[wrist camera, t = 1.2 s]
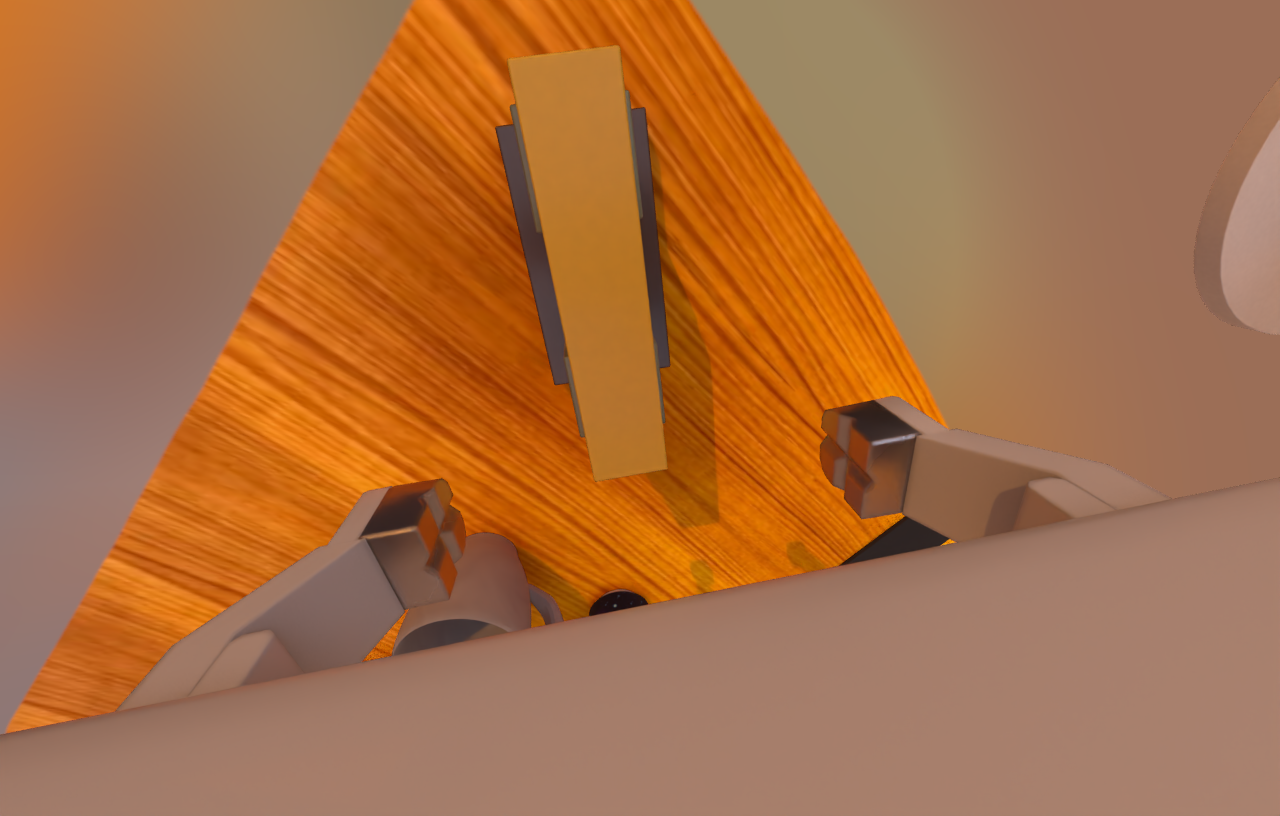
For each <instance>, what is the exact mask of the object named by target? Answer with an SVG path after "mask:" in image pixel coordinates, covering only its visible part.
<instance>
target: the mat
mask: <svg viewBox="0 0 1280 816" xmlns="http://www.w3.org/2000/svg"><path fill="white" fill-rule="evenodd" d="M947 540H949V538H947V537H945V536H943V535H941V534H940V533H938V532H936V531H934V530H932V529H930V528H928V527H926V526H924V525H922V524H920V523H918V522H916V521H914V520H912V519H910V518H908V517H907V516H906V517H904V518H903V519H901V520H900V521H899V522H897V523H896V524H895V525H893V526H892V527H891V528H889V529H888V530H887V531H885V532H884V533H883V534H881V535H880V536H879V537H877V538H876V539H875V540H873V541H872V542H871V543H869V544H868V545H867V546H865V547H864V548H863V549H861V550H860V551H859V552H857V553H856V554H855V555H853V556H852V557H851V558H849V559H848V560H846V561H845V562H844V563H842V564H841V565H840V566H842V565H847V564H852V563H857V562H862V561H867V560H872V559H877V558H882V557H887V556H892V555H897V554H902V553H907V552H912V551H917V550H922V549H927V548H932V547H937V546H940V545H942V544H943V543H944V542H946V541H947Z"/></svg>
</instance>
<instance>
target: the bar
mask: <svg viewBox="0 0 1280 816" xmlns="http://www.w3.org/2000/svg"><path fill="white" fill-rule="evenodd" d="M507 65H508V69H509V74H510V79H511V84H512V89H513V93H514V98H515V103H516V108H517V113H518V117H519V122H520V127H521V132H522V137H523V141H524V146H525V151H526V156H527V161H528V165H529V170H530V175H531V180H532V185H533V189H534V194H535V199H536V204H537V209H538V213H539V218H540V223H541V228H542V233H543V237H544V242H545V247H546V252H547V257H548V261H549V266H550V271H551V276H552V281H553V285H554V290H555V295H556V300H557V305H558V309H559V314H560V319H561V324H562V329H563V333H564V338H565V343H566V348H567V353H568V357H569V362H570V367H571V372H572V377H573V381H574V386H575V391H576V396H577V400H578V405H579V410H580V415H581V420H582V424H583V429H584V434H585V439H586V444H587V448H588V453H589V458H590V463H591V468H592V472H593V477H594V481H595V482H597V481H603V480H609V479H614V478H620V477H626V476H631V475H637V474H643V473H648V472H654V471H660V470H666V469H667V468H668V466H667V457H666V448H665V439H664V431H663V422H662V413H661V404H660V395H659V386H658V378H657V369H656V360H655V351H654V342H653V333H652V325H651V316H650V307H649V298H648V289H647V280H646V272H645V263H644V254H643V245H642V236H641V227H640V219H639V210H638V201H637V192H636V183H635V174H634V166H633V157H632V148H631V139H630V130H629V121H628V113H627V104H626V95H625V86H624V77H623V68H622V60H621V51H620V47H619V46H618V45H615V46H607V47H598V48H590V49H582V50H574V51H565V52H557V53H549V54H541V55H532V56H524V57H516V58H509V59H507Z"/></svg>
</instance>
